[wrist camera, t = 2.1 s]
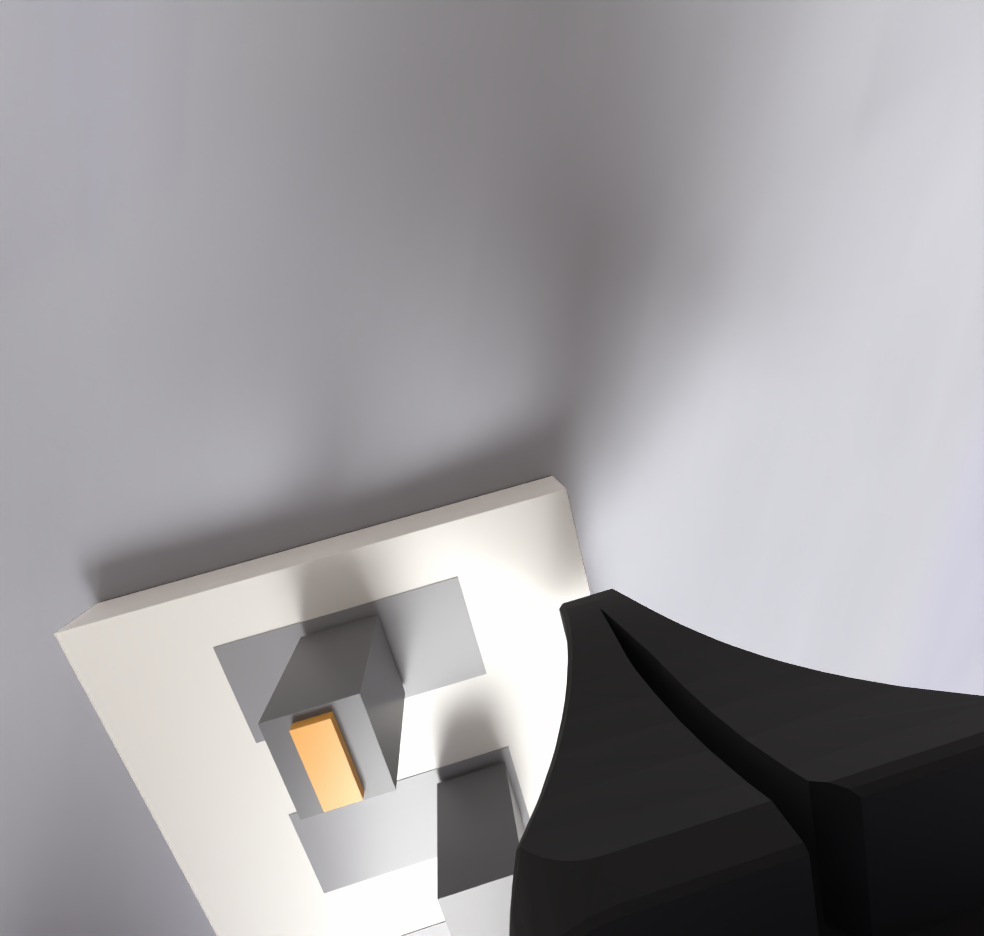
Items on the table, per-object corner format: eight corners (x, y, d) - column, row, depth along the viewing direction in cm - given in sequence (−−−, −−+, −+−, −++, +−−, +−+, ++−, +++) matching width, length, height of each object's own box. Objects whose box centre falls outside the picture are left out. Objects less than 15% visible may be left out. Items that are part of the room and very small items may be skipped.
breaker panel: (307, 1020, 17) (260, 1261, 12) (96, 603, 13) (-88, 733, 8) (652, 904, 18) (727, 1091, 13) (552, 475, 14) (610, 531, 9)
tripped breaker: (331, 714, 13) (297, 828, 10) (301, 637, 12) (254, 732, 9) (405, 692, 13) (394, 798, 10) (378, 614, 12) (357, 700, 9)
